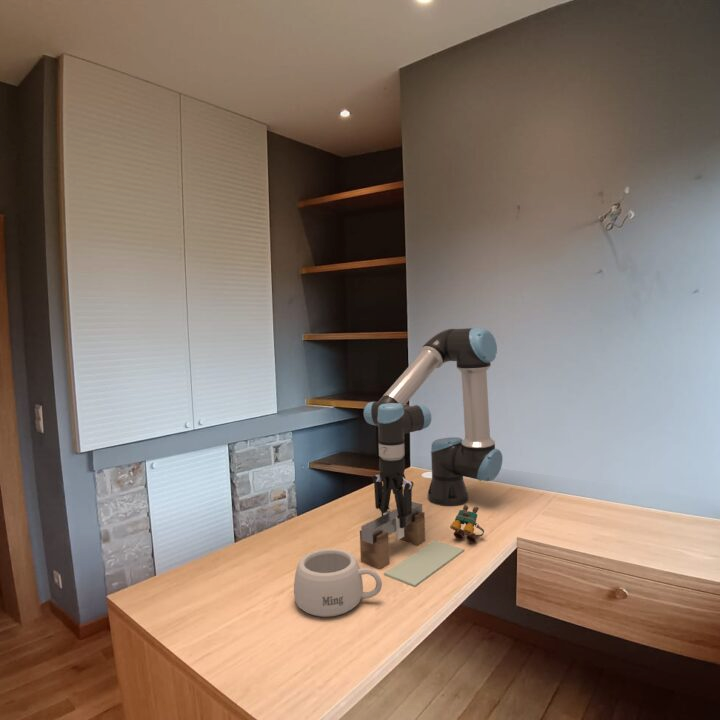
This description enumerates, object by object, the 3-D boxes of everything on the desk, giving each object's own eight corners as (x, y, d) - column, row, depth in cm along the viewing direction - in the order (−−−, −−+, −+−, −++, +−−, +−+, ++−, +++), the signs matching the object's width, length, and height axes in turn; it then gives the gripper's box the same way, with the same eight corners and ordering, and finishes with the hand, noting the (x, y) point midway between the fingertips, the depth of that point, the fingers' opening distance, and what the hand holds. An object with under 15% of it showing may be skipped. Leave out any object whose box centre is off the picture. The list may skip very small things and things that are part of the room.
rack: (360, 562, 135) (359, 530, 135) (406, 535, 152) (405, 507, 151) (380, 569, 131) (379, 537, 130) (425, 541, 147) (424, 512, 146)
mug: (284, 618, 110) (283, 576, 109) (305, 580, 126) (303, 543, 125) (377, 625, 106) (376, 581, 105) (386, 585, 122) (385, 547, 122)
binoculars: (453, 542, 150) (444, 522, 146) (463, 519, 156) (455, 498, 151) (481, 550, 145) (473, 529, 140) (491, 525, 150) (484, 504, 146)
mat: (384, 574, 128) (383, 572, 128) (434, 541, 147) (434, 540, 146) (415, 587, 121) (415, 585, 121) (464, 550, 140) (464, 549, 140)
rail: (361, 540, 133) (361, 526, 133) (411, 513, 151) (411, 501, 151) (372, 544, 130) (372, 530, 130) (422, 516, 148) (422, 504, 148)
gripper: (361, 455, 142) (363, 532, 144) (408, 464, 131) (410, 548, 132) (377, 450, 148) (379, 524, 149) (423, 458, 137) (425, 538, 138)
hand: (393, 535), depth 141 cm, fingers closed on rail, 4 cm apart
